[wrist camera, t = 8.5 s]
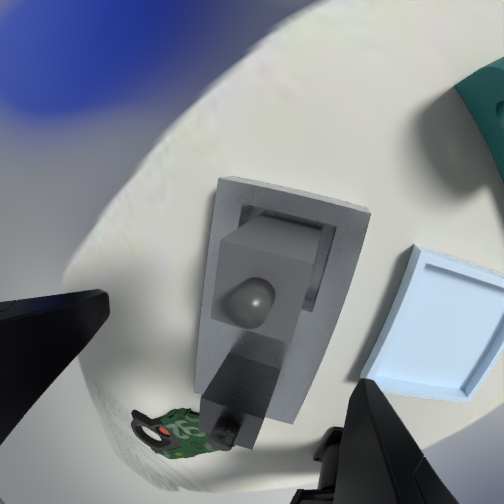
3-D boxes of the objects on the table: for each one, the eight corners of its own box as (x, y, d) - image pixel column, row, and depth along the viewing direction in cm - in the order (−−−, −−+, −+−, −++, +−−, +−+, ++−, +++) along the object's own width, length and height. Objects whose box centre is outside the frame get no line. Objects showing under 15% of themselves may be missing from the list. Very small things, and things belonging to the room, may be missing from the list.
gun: (174, 392, 26) (240, 449, 26) (180, 384, 27) (244, 439, 28) (118, 419, 32) (167, 462, 33) (123, 413, 34) (172, 456, 34)
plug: (307, 284, 19) (284, 364, 11) (251, 269, 20) (196, 335, 12) (322, 227, 18) (310, 278, 10) (261, 213, 19) (204, 250, 11)
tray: (463, 390, 18) (467, 402, 17) (360, 373, 20) (360, 387, 19) (522, 281, 14) (532, 289, 13) (414, 244, 17) (421, 251, 15)
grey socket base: (297, 404, 23) (274, 486, 15) (205, 375, 25) (157, 444, 17) (366, 207, 17) (394, 245, 9) (232, 176, 19) (153, 188, 11)
